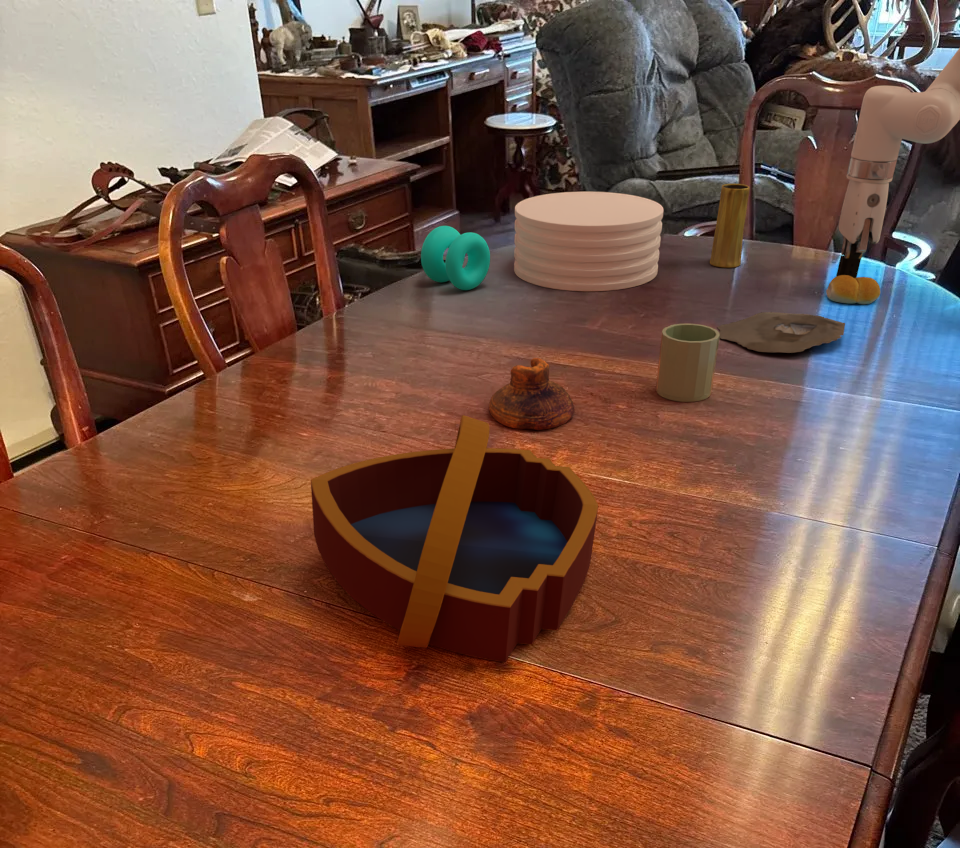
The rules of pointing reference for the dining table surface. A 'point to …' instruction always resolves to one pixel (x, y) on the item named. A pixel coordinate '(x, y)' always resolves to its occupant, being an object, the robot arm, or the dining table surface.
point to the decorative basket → (458, 542)
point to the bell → (531, 399)
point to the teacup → (687, 362)
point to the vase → (730, 226)
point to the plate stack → (587, 240)
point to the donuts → (455, 257)
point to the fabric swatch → (782, 331)
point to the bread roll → (853, 290)
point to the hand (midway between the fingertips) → (845, 279)
